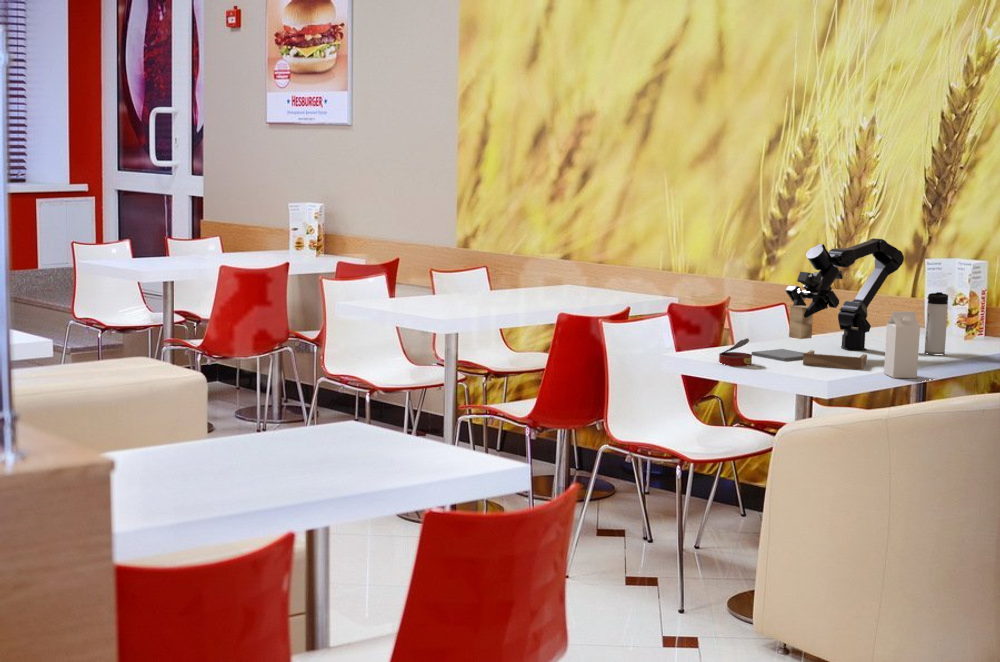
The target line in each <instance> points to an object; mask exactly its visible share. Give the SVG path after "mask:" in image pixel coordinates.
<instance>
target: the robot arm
mask: <svg viewBox="0 0 1000 662" xmlns="http://www.w3.org/2000/svg"><path fill="white" fill-rule="evenodd" d="M870 255H872V256H873V258H874V269H873V270H872V272H871V273H870V275H869V276H868V278H867V279H866V281H865V283H864V284H863V286H862V287H861V288H860V290H859V292H858V293H857V295H856V296H855V298H854V299H853V300H851V301H850V300H846V301H844V302H843V304H842V306H841V307H840V308H839V309H838V310H839V312H838V314H837V319H838V321H837V322H838V325H839V329H840V330H842V331H843V334H842V335H841V346H840V348H841V349H844V350H847V351H867V349H868V348H865V345H866V344H865V343H866V333H869V332H870V329H871V324H870V323H869V321H868V319H867V318H868V308H869V305H870V304H871V303H872V301H873V299H874V298H875V296H876V295H877V293H878V292H879V290H880V289H881V288H882V285H883V284H884V282H885V281H886V279H887V278H888V277H889V275H891V274H893V273H895V272H896V271H898V270H899V268H900V267H902V265H903V263H904V261H905V257H904V254H903V252H902V251H901V250H900V249H899V248H897V247H895V246H893V245H892V244H890V243H889V242H887V240H885V239H884V238H875V237H874V238H870V239H869V240H866V241H864V242H861V243H859V244H855V245H853V246H849V247H842V248H841V247H838V248H831V249H830V250H828V249H827V248H826V246H825V244H824V243H818V244H817V245H816V246H814V247H811V248H810V249H808V251H806V255H805V256H806V258H807V259H808V261H809V263H810V264H811V266H812V268H813V269H814V270H815V271H814V272H813V273H812V272H808V271H807V272H806V271H799V274H798V277H797V280H796V282H798V283H801V285H803V286H802V287H803V289H804V290H802V288H801V287H800V286H798V285H791V284H790V285H788V286H787V287H786V288H785V293H786V294H787V296H788V297H789V299H790V300H791V302H793V305H792V306H799V305H802V306H807V303H806V302H805V300H806V299H807V300H811V302H810V304H809V307H808V309H807V310H806V312H805V314H804V317H805V318H807V317H809V316H810V315H812V314H813V315H814V314H817V313H818V312H821V311H823V310H825V309H826V310H827V309H828V308H831V309H837V308H838V306H839V304H840V298H839V297H838V296H837V294H836V293H835V292H834V291H833V290H832V289H833V288H832V287H831V286H832V285H833V284H834V282H835V281H836V280H843V278H844V276H843V271H842V270H840V269H839V268H849V267H850V266H852V265H854V264H855V263H856V261H857V260H858V259H862V258H864V257H867V256H870ZM816 271H818V272H816Z"/></svg>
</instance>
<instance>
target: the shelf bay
mask: <svg viewBox="0 0 1000 662" xmlns="http://www.w3.org/2000/svg"><path fill="white" fill-rule="evenodd" d="M803 353H804V354H803V359H802V366H809V367H810V366H811V367H823V368H824V367H825V368H836V369H846V370H847V369H849V370H859V369H861V370H862V369H863V368H864V367H865V366H867V364H868V362H867V361H868V354H864V353H863V354H862V355H861V356H859V357H858V356H847V355H846V356H845V355H834V354H822V353H821V354H820V353H815V350H813V349H810V350H809V351H808V352H803Z"/></svg>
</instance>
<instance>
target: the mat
mask: <svg viewBox="0 0 1000 662" xmlns="http://www.w3.org/2000/svg"><path fill="white" fill-rule="evenodd" d="M804 353H805V352H803V351H797V350H796V351H795V350H792V349H785V348H778V349H769V350H768V349H767V350H759V351H758V350H755V351H751V355H752V356H755V357H760V358H765V359H766V358H767V359H770V360H775V361H781V362H789V361H797V360H803V354H804Z"/></svg>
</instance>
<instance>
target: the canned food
mask: <svg viewBox="0 0 1000 662" xmlns="http://www.w3.org/2000/svg"><path fill="white" fill-rule="evenodd" d="M749 342H750V339H749V338H747V337H746V338H744V339H741V340H739V341H738V342H736V343H735V344H734V345H732V346H731V347H730V348H728V349H727V350H725V351H722V352H720V353H719V355H718V356H719V357H718V363H719V362H720V363H722V364H725V365H724V366H726V365H729V366H728V367H748V366H747V365H750V366H752V362H753V359H752V357H753V355H752V353H751V354H750V353H748V352H747V353H746V352H738V351H737V352H736V351H733V350H737V349H739V348H741V347H743V346H745V345H747V344H748V343H749ZM722 364H721V365H722Z"/></svg>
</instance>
